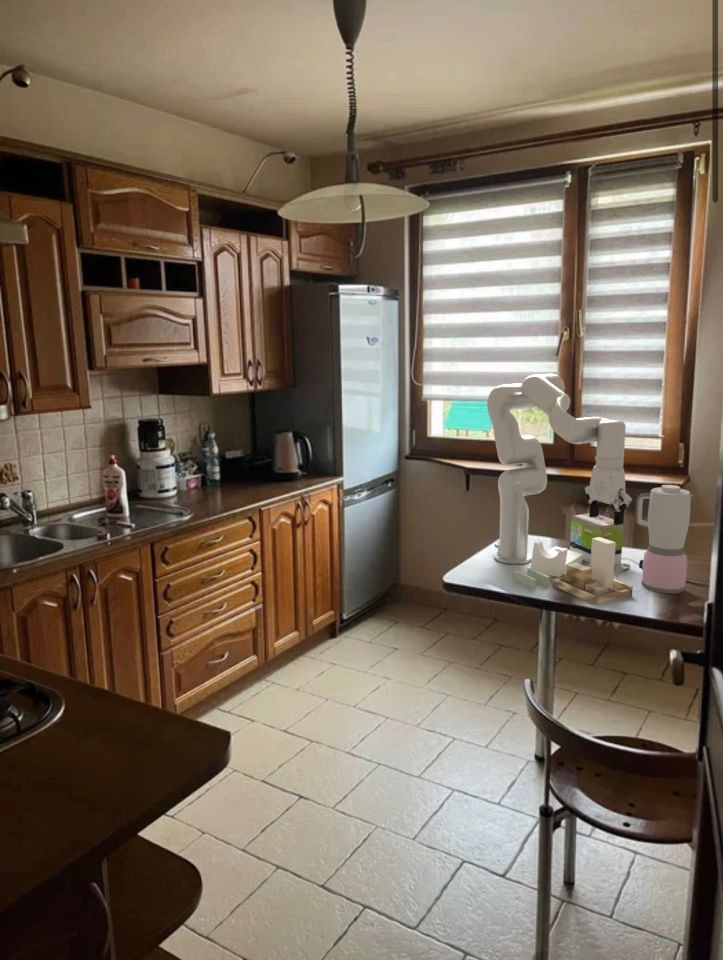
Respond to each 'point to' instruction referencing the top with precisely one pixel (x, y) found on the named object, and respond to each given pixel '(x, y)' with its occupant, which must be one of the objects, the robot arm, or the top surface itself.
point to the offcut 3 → (596, 589)
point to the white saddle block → (553, 559)
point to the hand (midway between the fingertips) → (605, 520)
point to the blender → (665, 538)
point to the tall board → (603, 561)
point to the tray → (615, 593)
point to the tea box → (594, 534)
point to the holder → (531, 578)
